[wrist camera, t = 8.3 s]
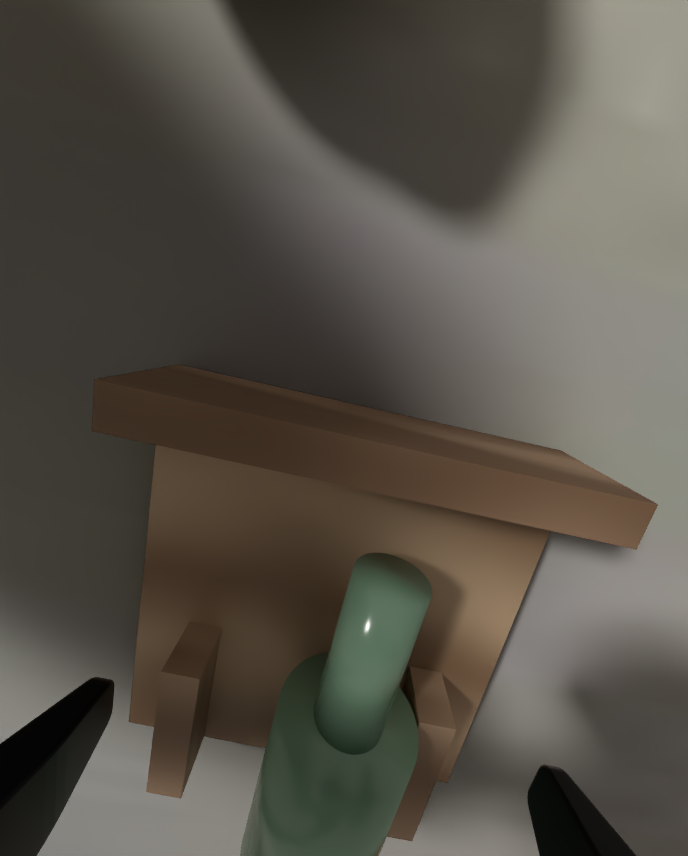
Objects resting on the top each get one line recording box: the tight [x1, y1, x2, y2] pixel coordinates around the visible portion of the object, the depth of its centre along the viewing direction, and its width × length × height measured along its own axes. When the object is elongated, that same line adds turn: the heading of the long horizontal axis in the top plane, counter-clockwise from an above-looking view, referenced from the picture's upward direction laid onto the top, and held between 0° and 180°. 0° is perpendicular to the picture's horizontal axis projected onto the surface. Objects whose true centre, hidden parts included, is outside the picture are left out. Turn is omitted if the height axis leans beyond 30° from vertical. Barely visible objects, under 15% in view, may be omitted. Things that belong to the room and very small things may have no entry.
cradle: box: [92, 365, 658, 841], centre depth 12 cm, size 14×13×4 cm
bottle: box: [240, 553, 432, 856], centre depth 11 cm, size 4×4×12 cm
